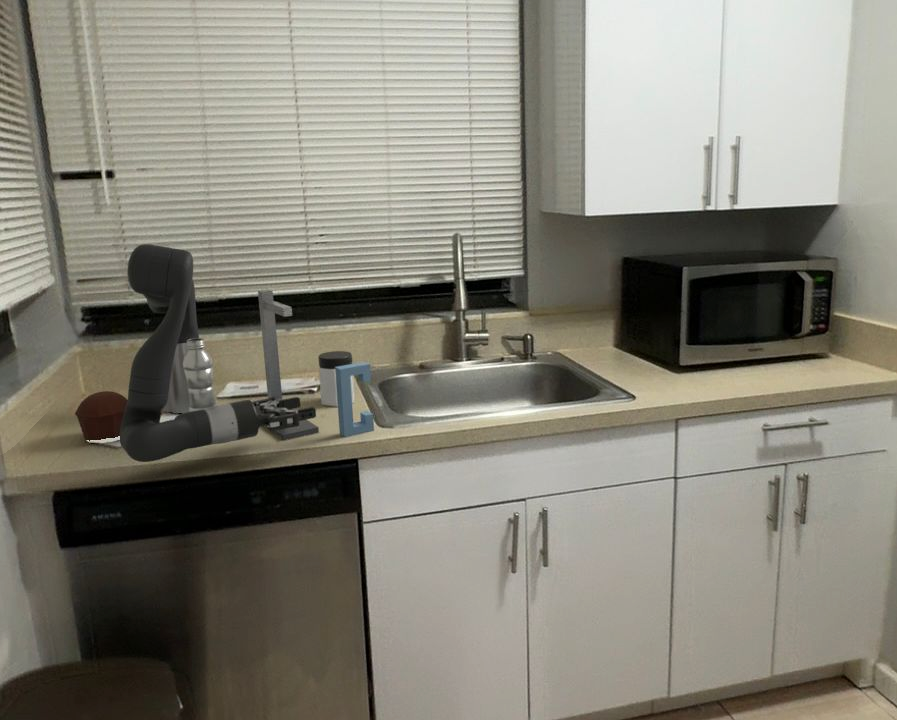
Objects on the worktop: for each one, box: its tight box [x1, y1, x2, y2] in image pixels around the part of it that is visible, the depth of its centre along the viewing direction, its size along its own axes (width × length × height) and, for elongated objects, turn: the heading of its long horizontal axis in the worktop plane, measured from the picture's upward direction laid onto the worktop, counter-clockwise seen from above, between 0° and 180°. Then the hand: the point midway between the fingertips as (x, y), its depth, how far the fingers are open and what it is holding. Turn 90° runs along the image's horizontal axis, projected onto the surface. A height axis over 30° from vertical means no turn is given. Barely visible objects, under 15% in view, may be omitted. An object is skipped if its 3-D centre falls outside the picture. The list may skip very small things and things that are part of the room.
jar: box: [318, 350, 356, 408], centre depth 186 cm, size 9×8×12 cm
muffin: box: [74, 391, 128, 441], centre depth 166 cm, size 12×11×10 cm
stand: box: [257, 289, 320, 441], centre depth 167 cm, size 8×18×30 cm, turn 33°
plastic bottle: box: [183, 337, 218, 412], centre depth 170 cm, size 6×7×20 cm
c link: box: [335, 361, 375, 438], centre depth 163 cm, size 7×3×15 cm, turn 123°
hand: (307, 406), depth 157 cm, fingers open, 8 cm apart
